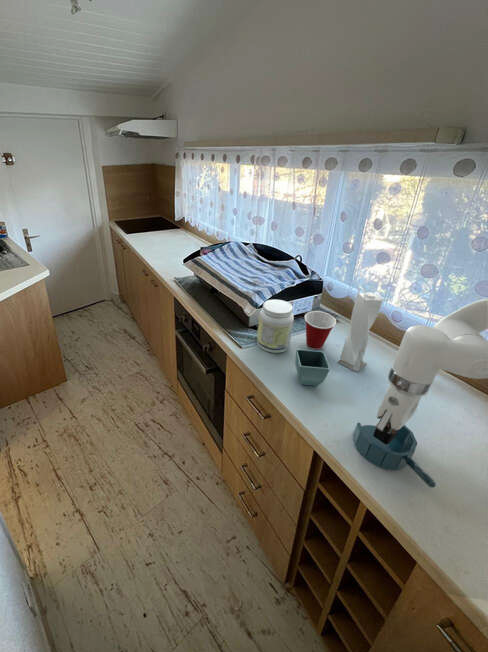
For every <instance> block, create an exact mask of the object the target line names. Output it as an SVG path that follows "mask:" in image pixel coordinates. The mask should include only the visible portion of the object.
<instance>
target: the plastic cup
mask: <svg viewBox="0 0 488 652" xmlns="http://www.w3.org/2000/svg"><path fill="white" fill-rule="evenodd" d="M304 320H305V343H306V346H307V347H309V348H310V349H313V350H320V349H322V348H323V347H324V344H325V342H326V341H327V339H328V337H329V335H330V333H331V331H332V329H333V328H334V327H335V326H336V325H337V319H336V317H334V316H333V315H332V314H330V313H327V312H325V311H321V310H312V311H308V312H306V313H305V314H304Z"/></svg>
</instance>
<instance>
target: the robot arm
mask: <svg viewBox="0 0 488 652" xmlns="http://www.w3.org/2000/svg"><path fill="white" fill-rule="evenodd" d="M486 330H488V297H487V298H484V299H480V300H476V301H473V302H470V303H468V304H466V305H464V306H462V307H460V308H459V309H456V310H454V311H453V312H451V313H450V314H447V315H446V316H444V317H442V318H441V319H440V320H439V321H437V322H436V323H435V324H434V326H428V325H422V324H417V325H412V326H410V327H408V328H407V329H406V331H405V333H404V334H403V337H402V339H401V342H400V344H399V347H398V350H397V352H396V355H395V358H394V359H393V362H392V364H391V368H390V370H389V372H388V374H387V375H388V376H387V381H388V383H389V385H388V388H387V389H386V391H385V394H384V395H383V398H382V400H381V403H380V405H379V406H378V410H377V413H376V418H377V420H379V421H378V423H377V424H378V425H377V424H376V426H377V427H376V430H375V432H374V435H373V436H374V437H375V438H377V439H378V440H380V441H381V442H383V443H384V444H388V442H389V440H390V438H391V435H392V432H391V431H392V429H395V430H399V429H401V428H402V427H403V426H404V425H405V426H406V424H407V422H409V420H410V419H411V418H412V417H413V416H414V415H415V413H416V412H417V409H418V406H419V404H420V402H421V399H422V397H424V396H426V395H427V394H428V392H429V390H430V388H431V387H432V385H433V382H434V380H435V378H436V376H437V374H438V372H439V370H441V371H445V372H448V373H451V374H455V375H458V376H461V377H464V378H469V379H476V380H483V379H488V340H487V339H486V338H485V337H484V336H483V335H482V334H481V333H482V332H484V331H486ZM387 424H389V425H390V427H389V428H388V427H387V426H386V425H387Z"/></svg>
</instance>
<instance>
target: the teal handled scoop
mask: <svg viewBox="0 0 488 652" xmlns="http://www.w3.org/2000/svg"><path fill="white" fill-rule="evenodd" d="M361 424H362V423H361V422H357V423H356V426H355V428H354V431H353V434H352V442H353V445H354V447H355V448H356V451H357V452H358V453H359V454H360V455H361V456H362V457H363V458H364V459H365V460H367V461H368V462H370V463H371V464H373V465H375V466H377V467H379V468H381V469H384V470H388V471H399V470H402V469H404V468H406V467H409V468H410V469H411V470H412V471H413V472H414V473H415V474H416V475H417V476H418V477H419V478H420V479H421V480H422V481H423V482H424V483H425V484H426V486H428V487H429V488H436V486H437V483H436V481H435V480H434V479H433V478H432V477H431V476H430V475H429V474H428V473H427V472H426V471H425V470H424V469H423V468H422V467H421V466H419V464H418V463H417V462H416V461H415V460H414V459H412V457H413V456H414V454H415V452H416V449H417V447H418V441H417V439H416V437H415V434H414V433H413V431H412V430H411V429H410V428H409V427H408V426H407V425H406V424H405V425H404V426H403V427H402V428H401V429H399V430H398V432H397V434H396V436H395V438H394V439H393V440H392V441H391V442H390V443H389V444H384V443H383V442H381V441H380V440H378V439H377V438H375V437H374V436H373V435H374V431H375V429H376V426H377V425H374V424H366V425H365V424H364V425H361Z"/></svg>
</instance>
